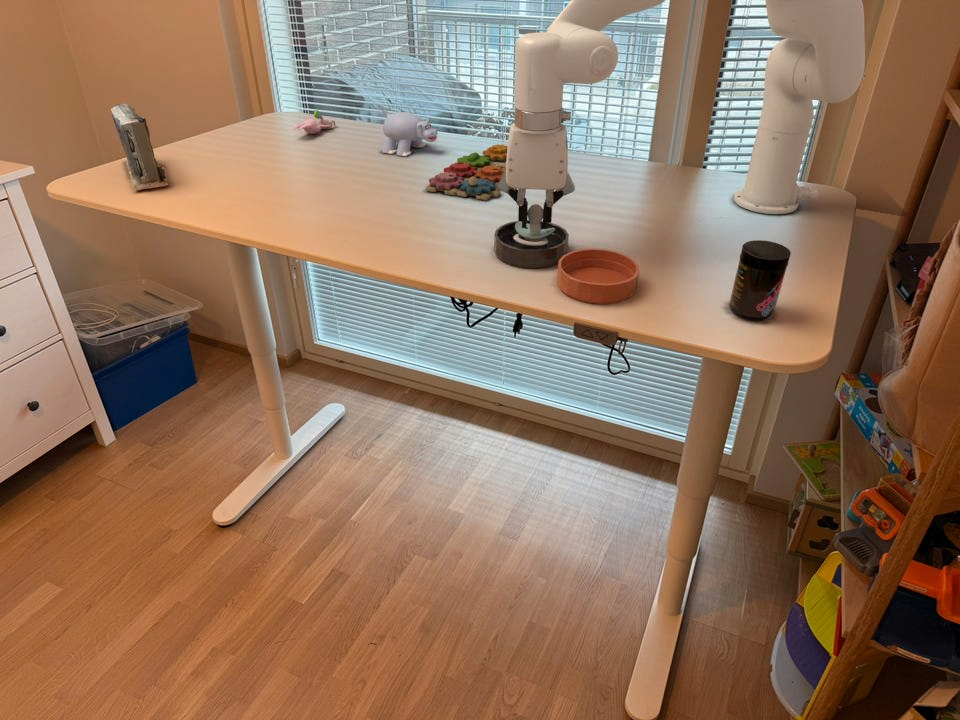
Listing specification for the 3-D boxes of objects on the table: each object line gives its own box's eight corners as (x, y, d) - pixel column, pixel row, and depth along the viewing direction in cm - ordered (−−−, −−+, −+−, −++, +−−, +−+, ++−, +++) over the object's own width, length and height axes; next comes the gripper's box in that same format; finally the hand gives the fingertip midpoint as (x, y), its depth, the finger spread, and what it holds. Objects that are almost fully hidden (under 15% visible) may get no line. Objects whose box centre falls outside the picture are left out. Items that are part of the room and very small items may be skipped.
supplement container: (746, 326, 103) (763, 263, 97) (718, 305, 108) (732, 244, 102) (783, 318, 105) (801, 255, 99) (753, 297, 110) (769, 237, 104)
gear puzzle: (478, 150, 172) (478, 133, 170) (540, 158, 167) (541, 141, 165) (422, 192, 148) (421, 173, 146) (492, 203, 143) (492, 184, 141)
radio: (126, 161, 165) (107, 96, 156) (164, 157, 167) (148, 92, 159) (125, 194, 147) (104, 123, 138) (169, 188, 150) (150, 118, 141)
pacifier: (544, 251, 119) (558, 237, 124) (545, 218, 116) (559, 204, 120) (506, 243, 122) (521, 229, 126) (506, 210, 119) (521, 197, 123)
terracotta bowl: (634, 269, 118) (637, 251, 116) (638, 307, 108) (641, 287, 106) (558, 265, 120) (560, 246, 118) (554, 301, 109) (556, 281, 107)
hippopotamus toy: (425, 160, 166) (424, 119, 160) (372, 151, 171) (368, 112, 165) (446, 147, 174) (445, 108, 168) (394, 140, 179) (392, 102, 174)
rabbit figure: (322, 130, 191) (286, 135, 178) (321, 107, 188) (285, 110, 176) (340, 133, 189) (305, 138, 176) (340, 110, 186) (304, 113, 174)
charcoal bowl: (568, 239, 128) (569, 222, 126) (565, 271, 118) (567, 252, 116) (499, 235, 130) (499, 218, 128) (490, 266, 119) (490, 247, 117)
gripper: (589, 113, 113) (582, 218, 123) (490, 110, 115) (491, 215, 125) (589, 126, 107) (581, 236, 117) (484, 124, 109) (485, 232, 119)
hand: (534, 224), depth 121 cm, fingers closed on pacifier, 3 cm apart
